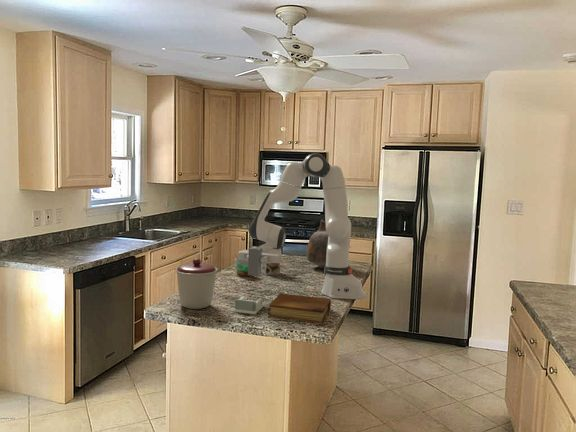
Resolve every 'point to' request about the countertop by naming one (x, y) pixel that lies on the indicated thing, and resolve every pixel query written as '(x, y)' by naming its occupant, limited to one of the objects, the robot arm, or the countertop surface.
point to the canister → (196, 284)
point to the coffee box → (271, 268)
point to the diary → (300, 307)
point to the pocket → (247, 305)
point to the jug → (318, 246)
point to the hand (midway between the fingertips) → (254, 259)
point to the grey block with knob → (254, 261)
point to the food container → (242, 267)
